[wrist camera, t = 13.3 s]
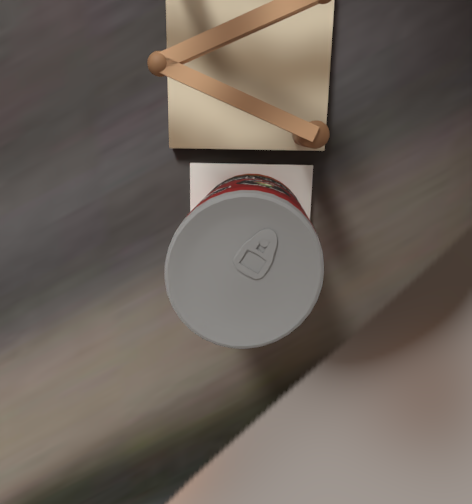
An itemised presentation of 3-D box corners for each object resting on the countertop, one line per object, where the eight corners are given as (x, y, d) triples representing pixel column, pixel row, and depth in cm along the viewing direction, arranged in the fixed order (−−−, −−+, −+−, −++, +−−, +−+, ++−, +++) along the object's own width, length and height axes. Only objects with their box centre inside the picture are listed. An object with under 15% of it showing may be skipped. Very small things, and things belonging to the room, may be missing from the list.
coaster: (191, 162, 31) (190, 163, 30) (312, 165, 31) (313, 165, 30) (192, 283, 33) (191, 285, 33) (305, 286, 33) (305, 289, 32)
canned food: (318, 188, 30) (348, 216, 20) (285, 292, 32) (296, 368, 22) (211, 158, 30) (184, 171, 20) (185, 265, 32) (147, 328, 22)
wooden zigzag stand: (167, -48, 28) (129, -123, 20) (335, -48, 27) (367, -126, 19) (172, 147, 31) (140, 151, 23) (322, 150, 30) (345, 155, 22)
